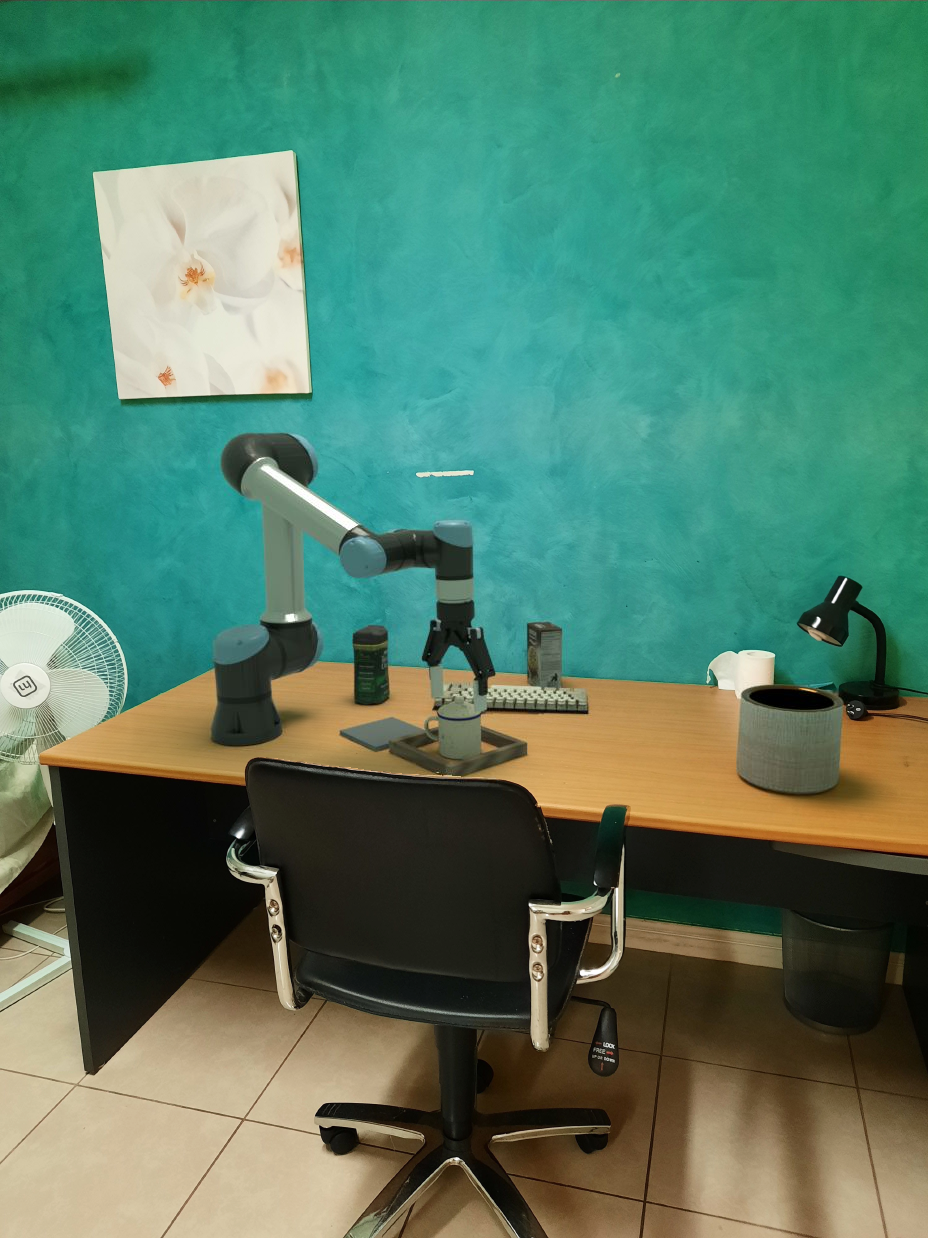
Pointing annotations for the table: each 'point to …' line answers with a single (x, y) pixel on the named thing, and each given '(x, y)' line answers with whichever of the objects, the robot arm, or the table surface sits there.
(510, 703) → the mechanical keyboard
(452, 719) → the teacup with lid
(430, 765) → the frame
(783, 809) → the table surface
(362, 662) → the coffee jar
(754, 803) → the table surface
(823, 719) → the planter
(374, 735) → the mat
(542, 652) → the coffee box
